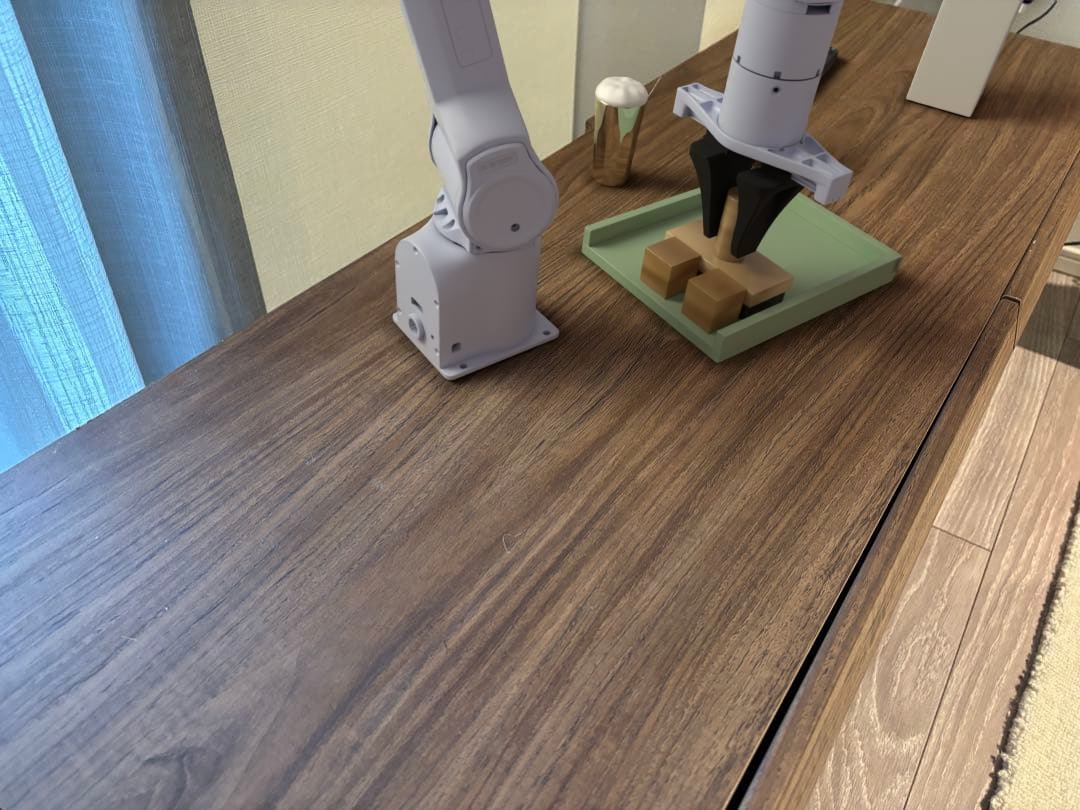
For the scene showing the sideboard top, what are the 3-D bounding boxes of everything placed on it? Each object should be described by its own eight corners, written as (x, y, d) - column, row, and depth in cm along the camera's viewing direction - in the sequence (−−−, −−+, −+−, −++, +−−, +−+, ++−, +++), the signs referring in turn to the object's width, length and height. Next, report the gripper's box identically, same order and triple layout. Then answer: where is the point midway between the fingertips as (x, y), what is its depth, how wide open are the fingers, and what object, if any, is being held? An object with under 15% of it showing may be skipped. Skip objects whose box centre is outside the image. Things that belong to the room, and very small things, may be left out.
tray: (717, 363, 62) (725, 337, 61) (581, 252, 71) (584, 226, 70) (892, 281, 72) (903, 255, 70) (752, 191, 81) (759, 167, 79)
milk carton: (969, 119, 96) (1053, -72, 82) (904, 100, 98) (976, -88, 85) (980, 96, 100) (1061, -88, 87) (918, 79, 102) (988, -103, 89)
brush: (744, 324, 64) (771, 235, 59) (659, 260, 69) (677, 172, 64) (785, 305, 66) (814, 217, 61) (700, 244, 71) (720, 158, 66)
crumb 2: (708, 334, 63) (717, 301, 61) (680, 312, 65) (688, 279, 63) (737, 321, 65) (747, 288, 63) (709, 300, 66) (718, 267, 64)
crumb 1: (665, 300, 66) (672, 267, 64) (639, 279, 68) (645, 246, 65) (694, 287, 67) (701, 255, 65) (668, 268, 69) (674, 235, 67)
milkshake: (640, 195, 79) (658, 87, 72) (581, 185, 79) (594, 77, 72) (645, 171, 82) (664, 66, 75) (589, 162, 82) (602, 56, 75)
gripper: (909, 94, 53) (840, 277, 63) (740, 12, 62) (701, 185, 71) (833, 119, 50) (772, 307, 60) (666, 29, 58) (635, 207, 68)
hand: (729, 243), depth 65 cm, fingers closed on brush, 2 cm apart
